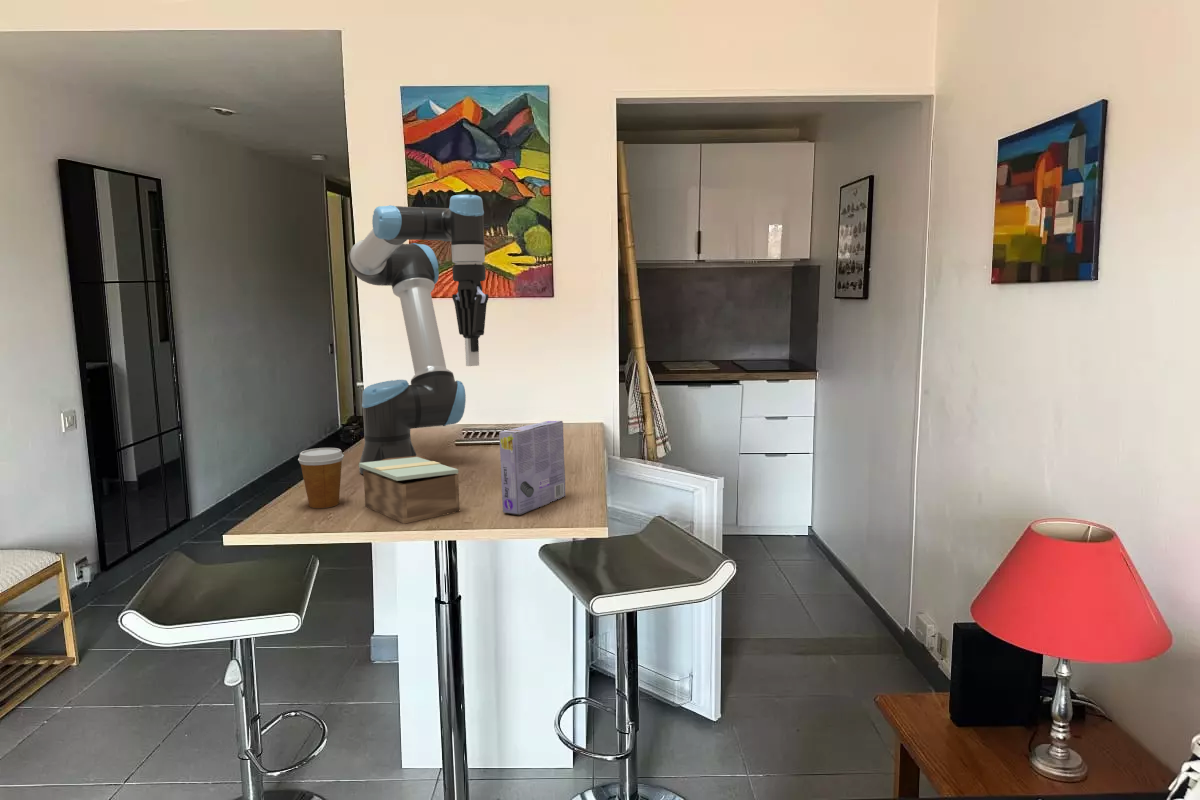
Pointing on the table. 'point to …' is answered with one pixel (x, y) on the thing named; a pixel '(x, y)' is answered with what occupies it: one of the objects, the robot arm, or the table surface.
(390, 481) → the walnut box
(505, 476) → the cake pan box
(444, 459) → the table surface
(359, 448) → the table surface
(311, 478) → the disposable coffee cup
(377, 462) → the lid
